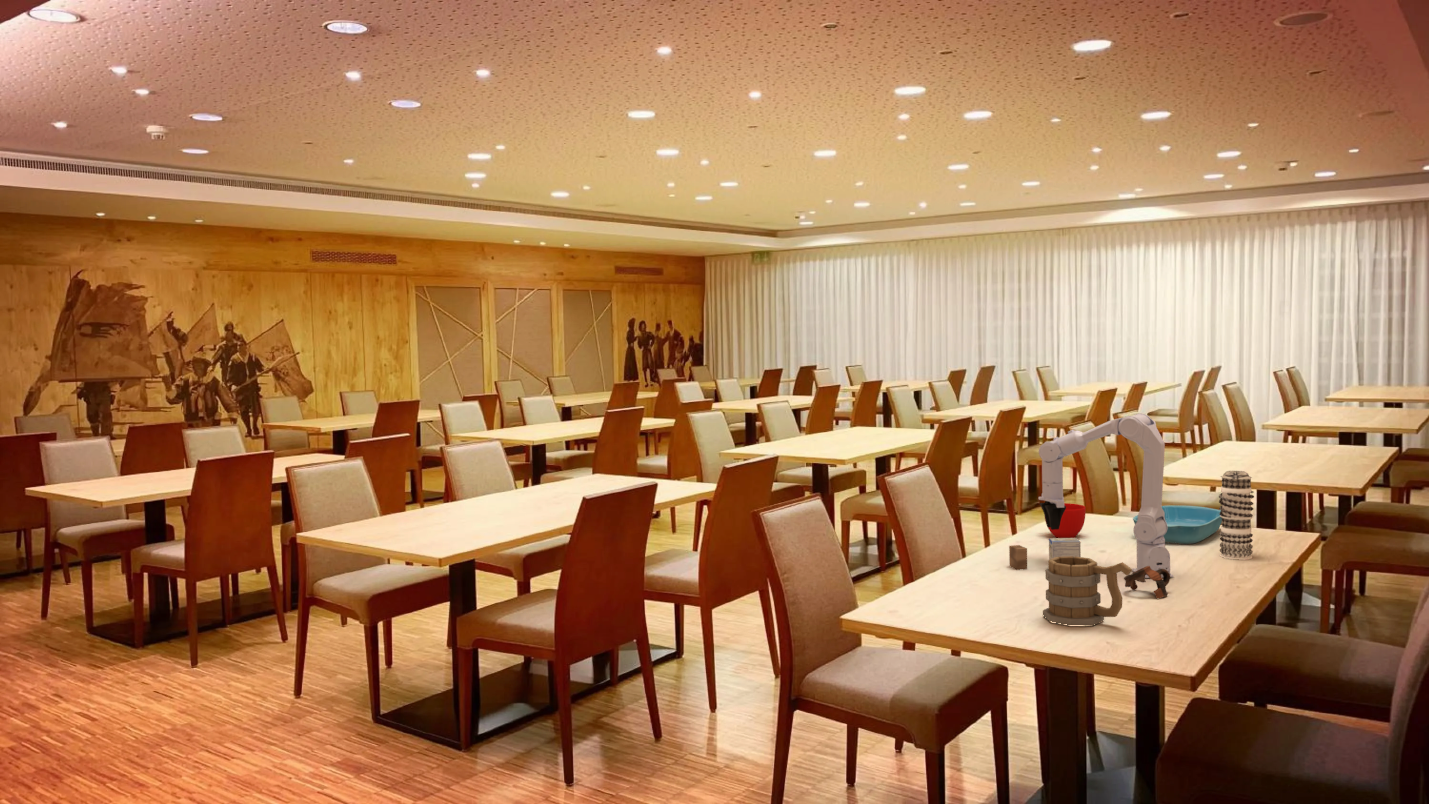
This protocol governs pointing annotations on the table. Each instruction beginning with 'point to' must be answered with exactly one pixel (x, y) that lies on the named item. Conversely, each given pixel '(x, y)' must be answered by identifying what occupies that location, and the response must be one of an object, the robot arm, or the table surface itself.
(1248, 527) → the decorative candle
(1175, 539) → the casserole dish
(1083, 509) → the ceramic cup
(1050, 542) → the medicine box
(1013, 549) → the walnut block
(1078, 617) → the tankard
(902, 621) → the table surface
